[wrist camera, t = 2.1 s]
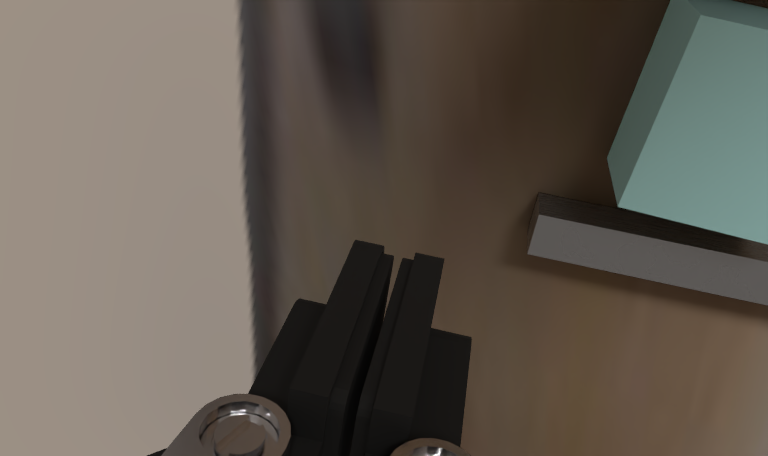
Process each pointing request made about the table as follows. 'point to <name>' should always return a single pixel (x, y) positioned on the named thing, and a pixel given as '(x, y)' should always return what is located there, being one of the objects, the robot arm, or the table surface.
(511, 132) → the table surface
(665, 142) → the block
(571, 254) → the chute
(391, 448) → the robot arm
